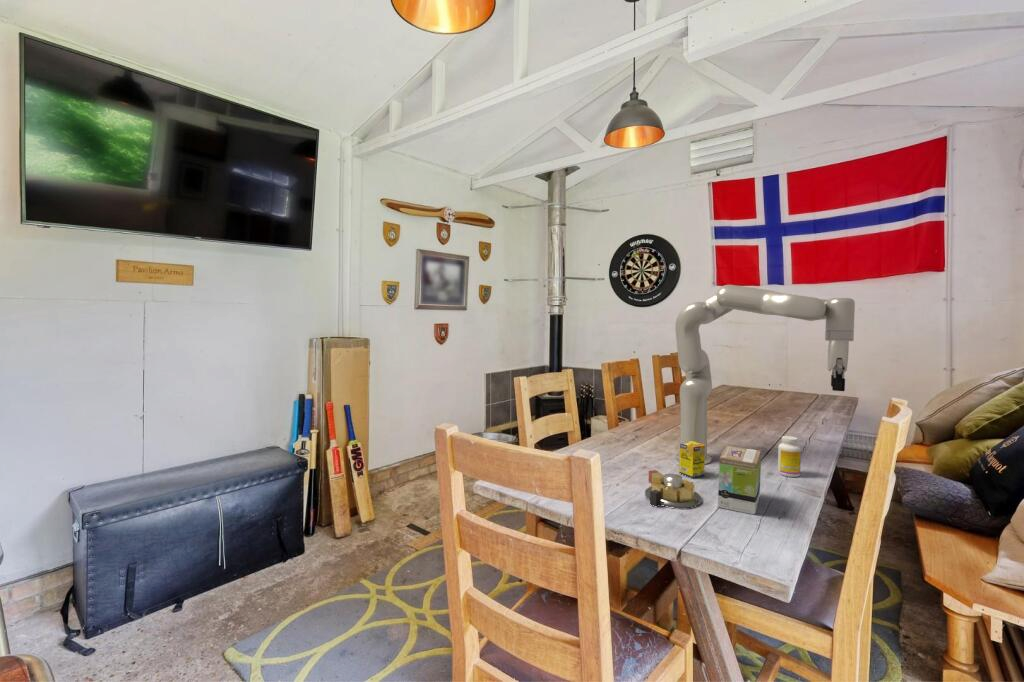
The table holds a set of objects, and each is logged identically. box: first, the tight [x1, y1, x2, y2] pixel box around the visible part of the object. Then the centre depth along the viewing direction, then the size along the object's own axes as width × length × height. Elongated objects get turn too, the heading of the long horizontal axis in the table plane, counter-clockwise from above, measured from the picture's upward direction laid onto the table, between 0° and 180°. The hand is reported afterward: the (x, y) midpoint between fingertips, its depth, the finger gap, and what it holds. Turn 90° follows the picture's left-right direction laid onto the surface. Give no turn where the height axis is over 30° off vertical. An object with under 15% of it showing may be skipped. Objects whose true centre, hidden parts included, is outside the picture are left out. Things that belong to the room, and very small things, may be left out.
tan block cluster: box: [648, 469, 696, 502], centre depth 140 cm, size 16×12×4 cm
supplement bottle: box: [777, 435, 802, 478], centre depth 158 cm, size 7×7×13 cm
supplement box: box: [678, 441, 706, 479], centre depth 158 cm, size 6×6×11 cm
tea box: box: [717, 445, 762, 515], centre depth 134 cm, size 15×10×15 cm
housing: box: [644, 473, 702, 509], centre depth 138 cm, size 16×18×6 cm
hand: (837, 388), depth 149 cm, fingers open, 9 cm apart
